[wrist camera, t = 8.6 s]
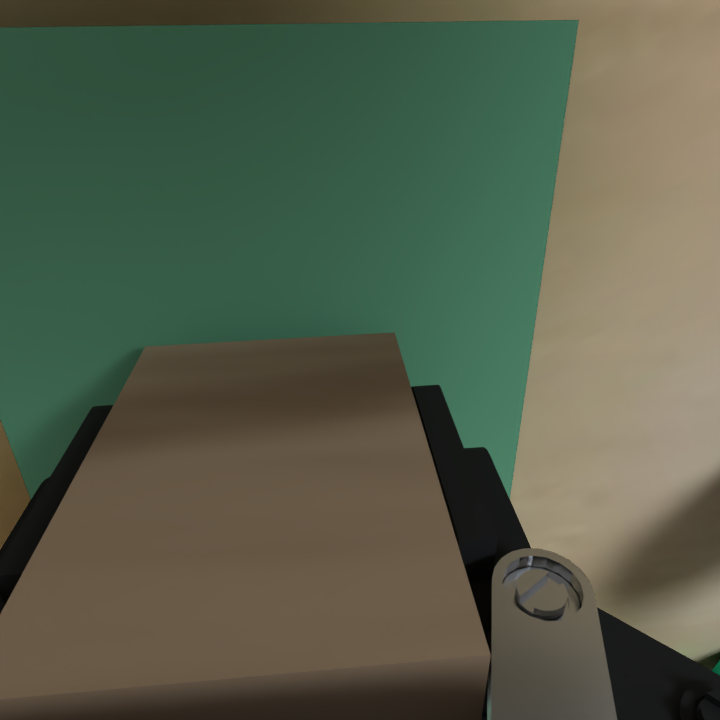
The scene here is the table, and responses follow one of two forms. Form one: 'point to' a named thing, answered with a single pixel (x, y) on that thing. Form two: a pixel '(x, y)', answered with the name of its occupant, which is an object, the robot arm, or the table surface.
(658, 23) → the table surface
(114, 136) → the board
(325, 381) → the block
